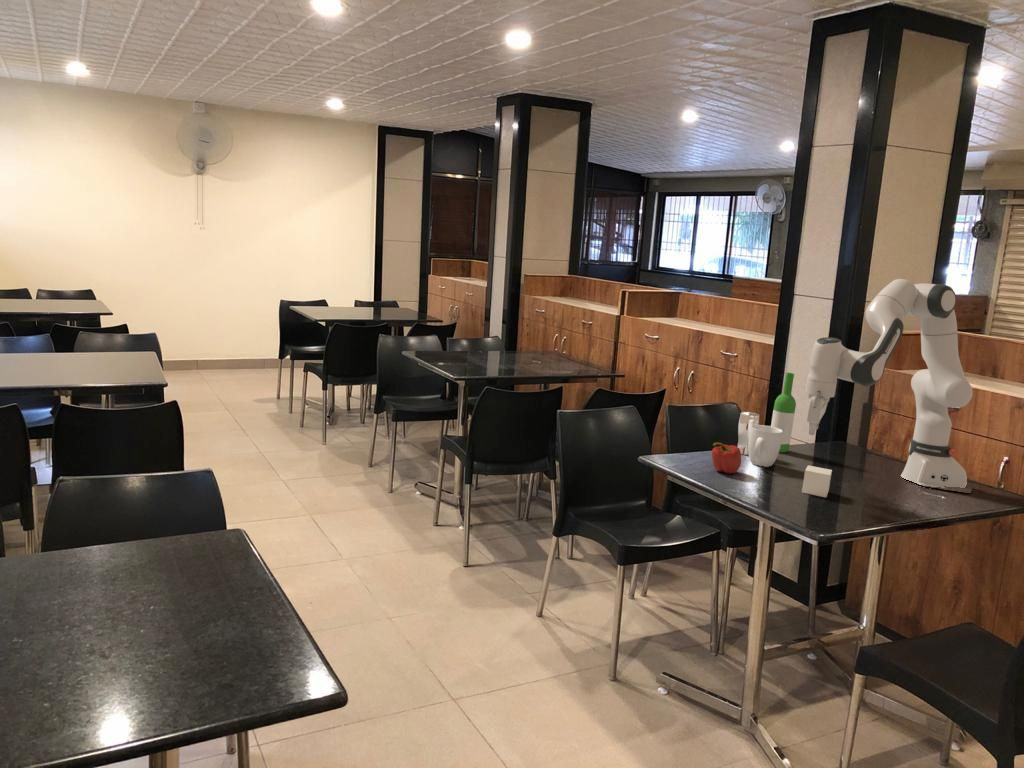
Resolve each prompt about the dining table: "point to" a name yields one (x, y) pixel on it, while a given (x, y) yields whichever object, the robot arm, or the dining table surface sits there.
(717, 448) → the vegetable
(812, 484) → the white cube
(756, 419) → the beer glass
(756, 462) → the mug
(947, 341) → the robot arm
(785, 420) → the wine bottle
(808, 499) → the dining table surface
